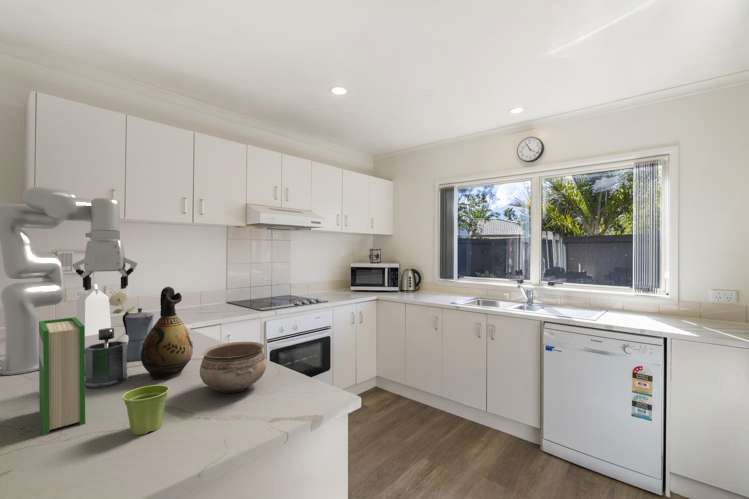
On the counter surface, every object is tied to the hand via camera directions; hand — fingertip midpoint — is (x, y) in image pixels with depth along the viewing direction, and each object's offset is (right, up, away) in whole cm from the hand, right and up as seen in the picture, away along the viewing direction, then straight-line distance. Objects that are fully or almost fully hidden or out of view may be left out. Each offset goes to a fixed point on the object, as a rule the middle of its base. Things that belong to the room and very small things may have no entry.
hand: (105, 289), depth 114 cm
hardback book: (+7, -30, -24) cm, 40 cm away
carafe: (-1, -30, -1) cm, 30 cm away
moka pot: (-7, -31, +26) cm, 41 cm away
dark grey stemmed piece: (0, -27, 0) cm, 28 cm away
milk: (-62, -32, +72) cm, 100 cm away
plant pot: (+33, -30, -31) cm, 54 cm away
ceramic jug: (+16, -30, +7) cm, 35 cm away
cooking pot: (+45, -30, -7) cm, 54 cm away
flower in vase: (-25, -31, +46) cm, 61 cm away
